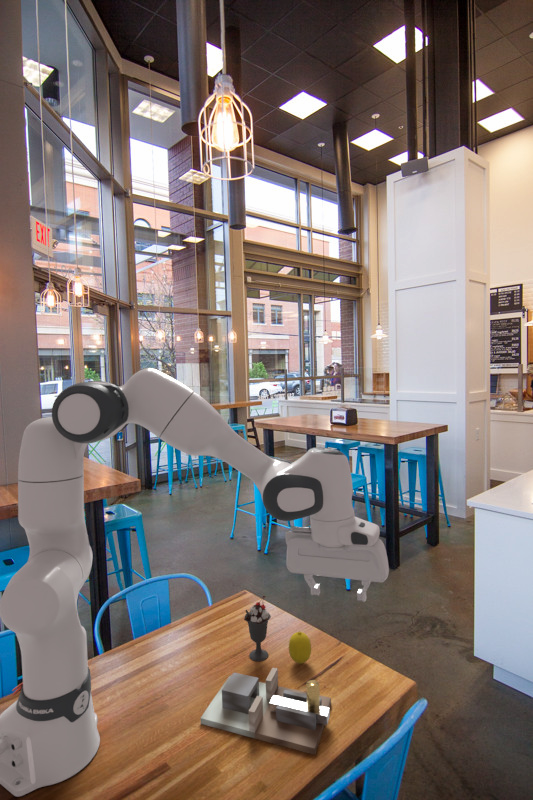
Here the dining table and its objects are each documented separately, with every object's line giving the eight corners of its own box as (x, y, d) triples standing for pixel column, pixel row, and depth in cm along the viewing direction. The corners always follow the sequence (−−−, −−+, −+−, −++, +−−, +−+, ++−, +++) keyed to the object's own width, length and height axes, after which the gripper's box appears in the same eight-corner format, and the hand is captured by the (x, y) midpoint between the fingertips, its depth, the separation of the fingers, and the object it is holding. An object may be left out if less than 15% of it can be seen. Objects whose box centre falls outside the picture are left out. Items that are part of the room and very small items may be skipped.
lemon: (310, 672, 105) (309, 639, 104) (287, 669, 106) (286, 637, 106) (312, 658, 110) (311, 626, 110) (290, 655, 111) (290, 624, 111)
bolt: (329, 716, 88) (328, 683, 88) (326, 725, 86) (326, 691, 86) (273, 703, 93) (272, 671, 92) (269, 711, 90) (268, 679, 90)
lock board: (331, 703, 94) (330, 679, 94) (315, 754, 81) (314, 727, 81) (229, 680, 103) (229, 658, 102) (200, 723, 89) (199, 698, 89)
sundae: (276, 652, 113) (275, 595, 112) (262, 666, 107) (260, 606, 107) (255, 644, 116) (253, 589, 116) (240, 658, 111) (238, 599, 110)
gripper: (278, 530, 88) (284, 598, 89) (382, 537, 80) (387, 612, 80) (289, 520, 94) (295, 584, 94) (387, 526, 85) (392, 595, 86)
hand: (338, 597), depth 87 cm, fingers open, 8 cm apart
